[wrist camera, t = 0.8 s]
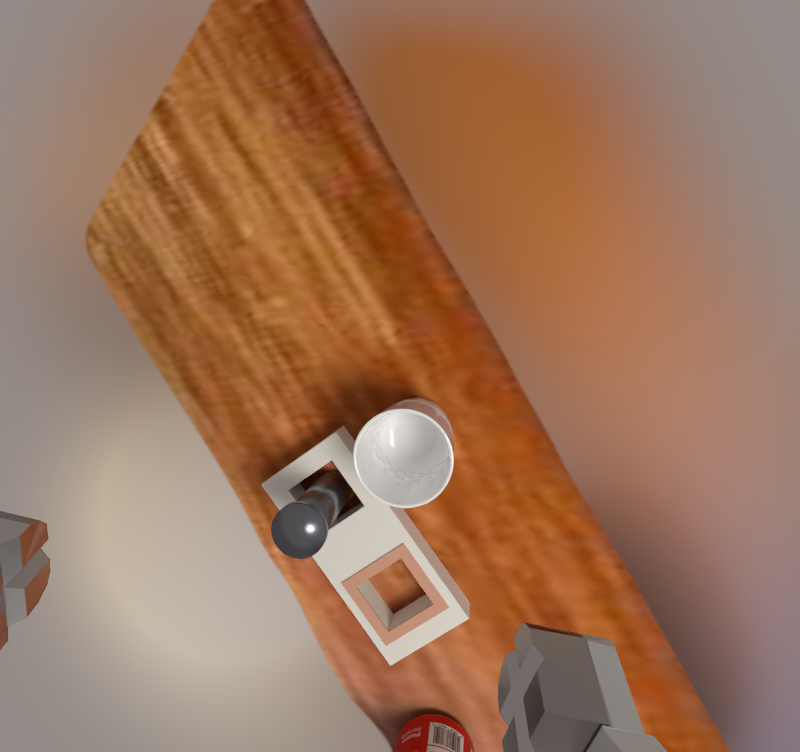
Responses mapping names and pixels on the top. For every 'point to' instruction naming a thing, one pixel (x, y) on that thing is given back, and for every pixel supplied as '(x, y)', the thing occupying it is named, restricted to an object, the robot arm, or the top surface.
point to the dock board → (375, 556)
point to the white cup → (405, 453)
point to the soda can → (433, 735)
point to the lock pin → (311, 516)
